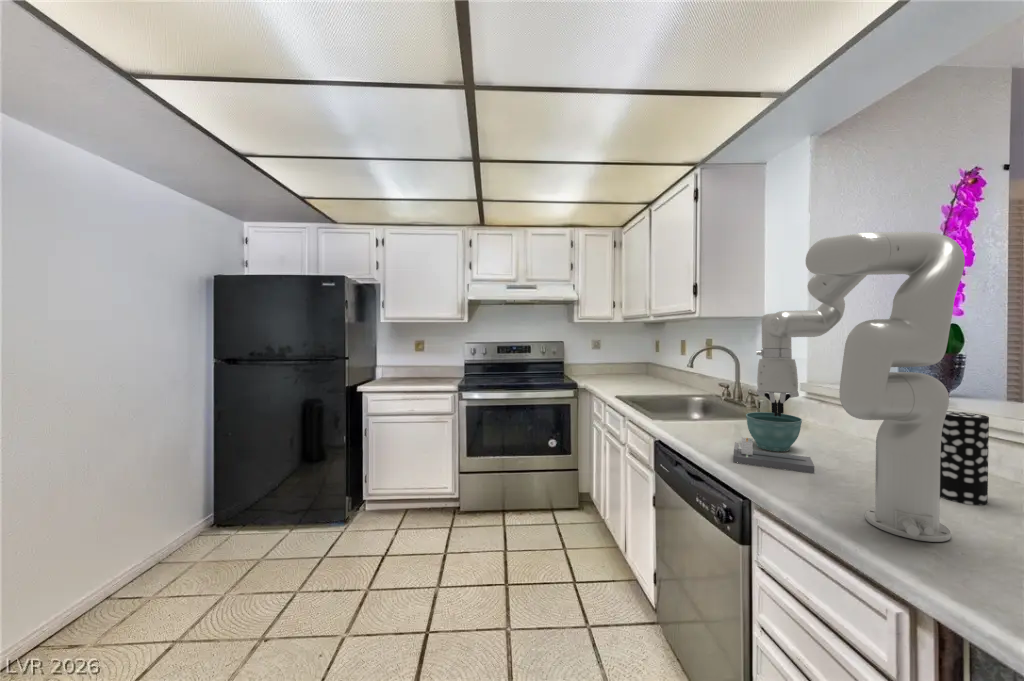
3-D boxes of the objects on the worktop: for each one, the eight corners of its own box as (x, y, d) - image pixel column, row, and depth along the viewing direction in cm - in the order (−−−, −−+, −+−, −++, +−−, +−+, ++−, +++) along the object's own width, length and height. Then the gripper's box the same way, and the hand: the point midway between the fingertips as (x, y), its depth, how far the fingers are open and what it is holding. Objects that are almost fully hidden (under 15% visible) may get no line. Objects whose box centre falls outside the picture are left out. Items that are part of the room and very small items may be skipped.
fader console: (814, 473, 116) (814, 459, 116) (733, 462, 126) (733, 449, 126) (810, 463, 125) (810, 450, 125) (734, 454, 135) (735, 441, 135)
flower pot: (809, 457, 131) (809, 423, 131) (752, 452, 136) (752, 420, 136) (792, 443, 147) (792, 413, 147) (741, 440, 152) (741, 411, 152)
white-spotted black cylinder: (930, 489, 105) (931, 410, 104) (978, 495, 100) (979, 413, 100) (943, 500, 97) (944, 416, 97) (994, 508, 93) (996, 419, 93)
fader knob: (752, 455, 126) (752, 441, 126) (741, 454, 128) (741, 440, 127) (752, 451, 130) (752, 438, 130) (741, 449, 132) (741, 437, 132)
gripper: (747, 354, 125) (748, 415, 125) (808, 354, 117) (809, 419, 117) (748, 354, 131) (748, 412, 131) (805, 354, 124) (806, 415, 124)
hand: (777, 415), depth 124 cm, fingers closed
